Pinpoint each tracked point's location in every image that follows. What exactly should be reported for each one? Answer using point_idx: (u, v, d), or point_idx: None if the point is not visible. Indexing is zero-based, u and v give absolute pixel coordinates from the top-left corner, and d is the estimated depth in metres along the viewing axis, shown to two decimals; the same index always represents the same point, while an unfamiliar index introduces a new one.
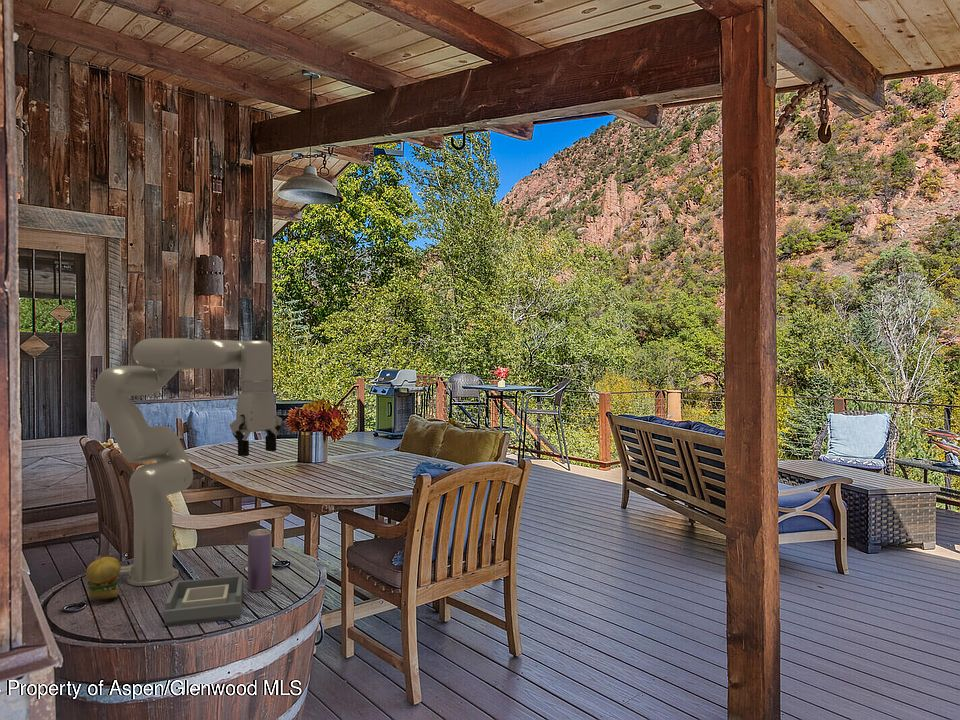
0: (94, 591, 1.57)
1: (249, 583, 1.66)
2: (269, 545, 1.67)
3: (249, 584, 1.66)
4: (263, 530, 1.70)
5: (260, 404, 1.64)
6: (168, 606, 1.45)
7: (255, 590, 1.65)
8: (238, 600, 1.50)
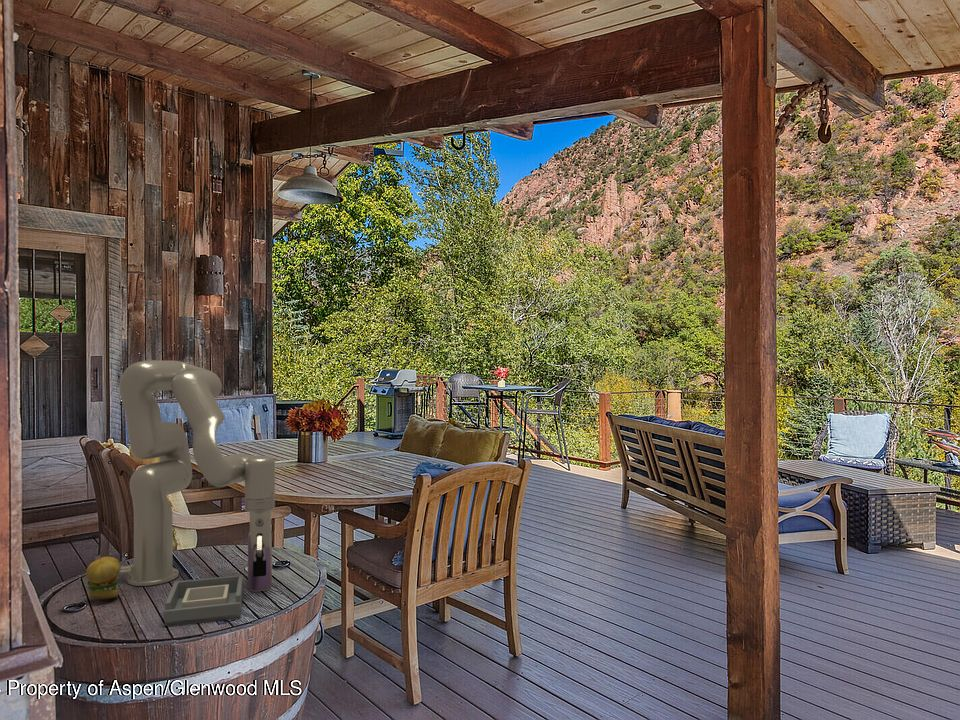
0: (94, 591, 1.57)
1: (249, 583, 1.66)
2: None
3: (249, 584, 1.66)
4: None
5: None
6: (168, 606, 1.45)
7: (255, 590, 1.65)
8: (238, 600, 1.50)
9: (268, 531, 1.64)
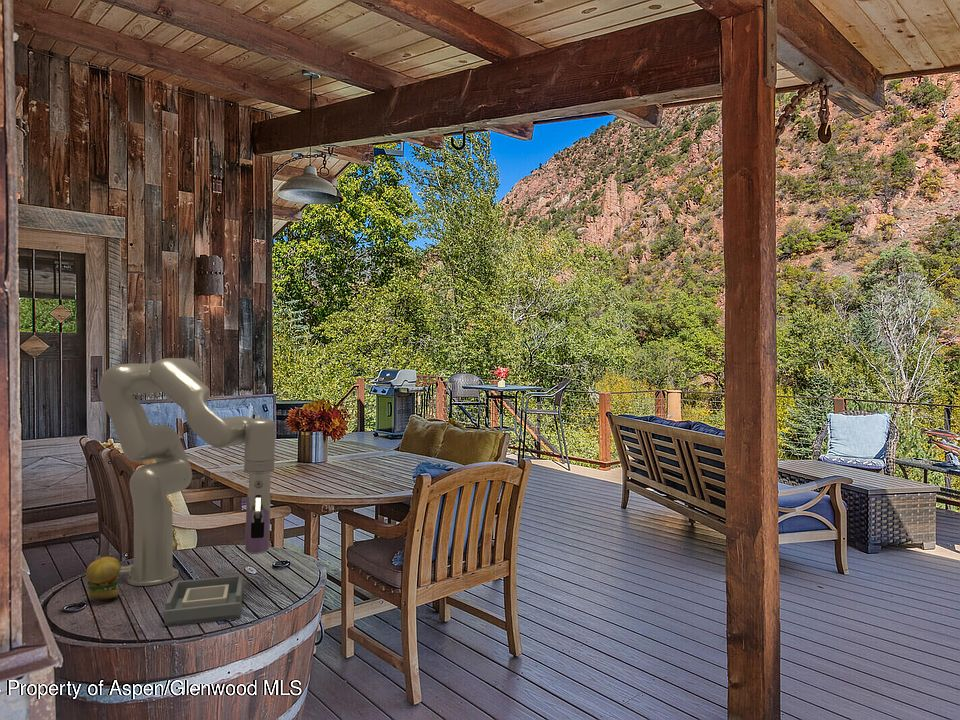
0: (94, 591, 1.57)
1: (247, 545, 1.66)
2: None
3: (247, 546, 1.66)
4: None
5: None
6: (168, 606, 1.45)
7: (252, 552, 1.65)
8: (238, 600, 1.50)
9: (267, 493, 1.64)
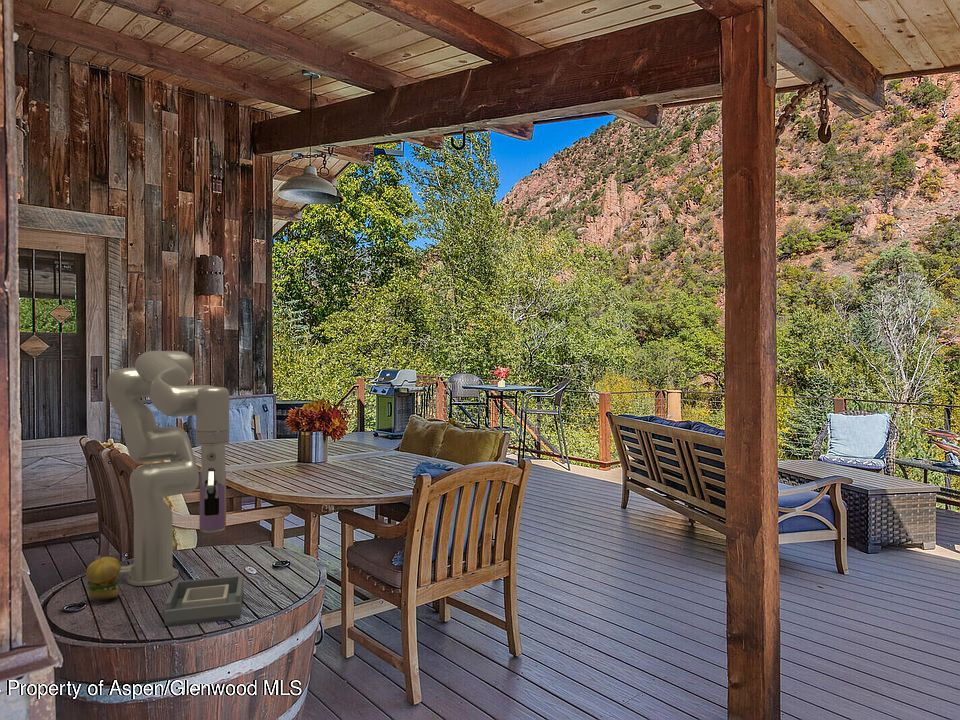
0: (94, 591, 1.57)
1: (201, 523, 1.53)
2: None
3: (201, 524, 1.53)
4: None
5: None
6: (168, 606, 1.45)
7: (207, 530, 1.53)
8: (238, 600, 1.50)
9: (221, 466, 1.52)
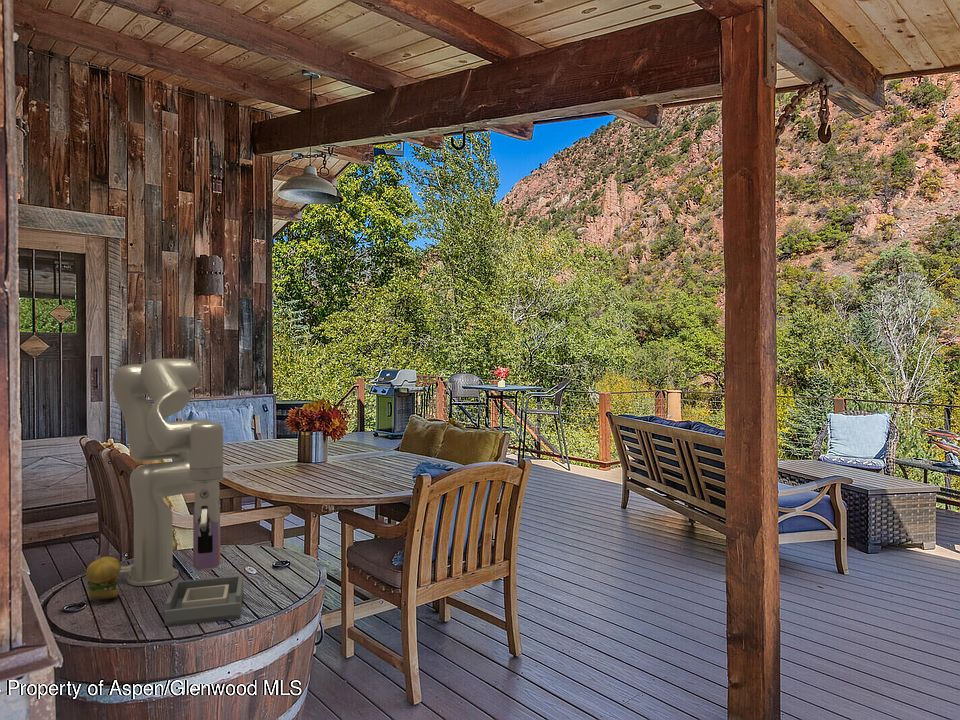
0: (94, 591, 1.57)
1: (194, 561, 1.52)
2: None
3: (194, 562, 1.52)
4: None
5: None
6: (168, 606, 1.45)
7: (201, 568, 1.51)
8: (238, 600, 1.50)
9: (214, 503, 1.50)
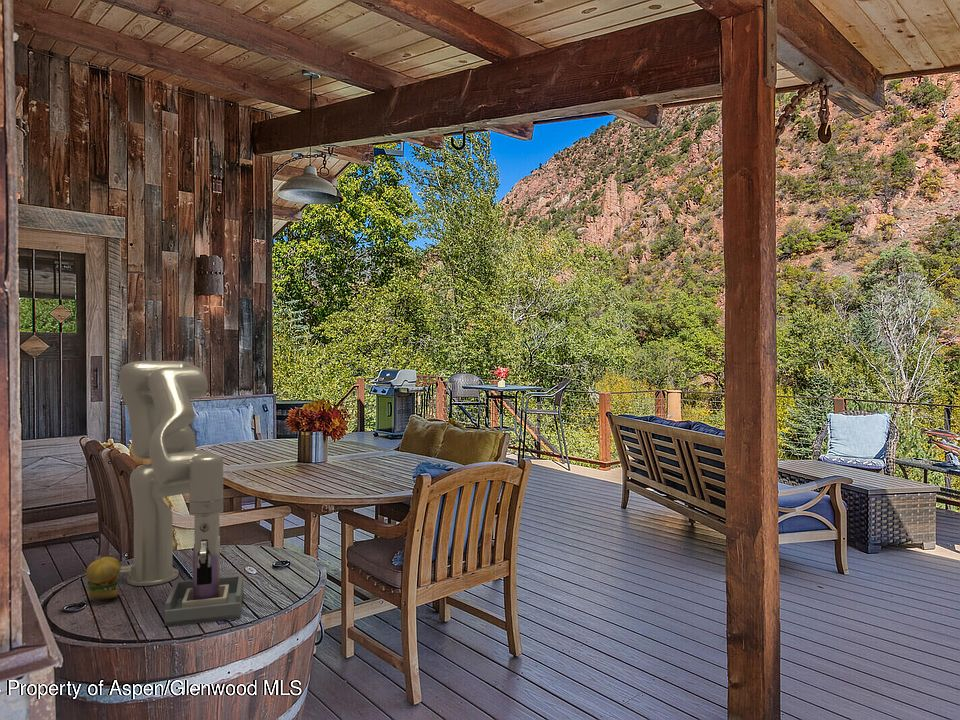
0: (94, 591, 1.57)
1: (194, 599, 1.52)
2: (216, 558, 1.53)
3: None
4: None
5: None
6: (168, 606, 1.45)
7: None
8: (238, 600, 1.50)
9: (214, 537, 1.50)
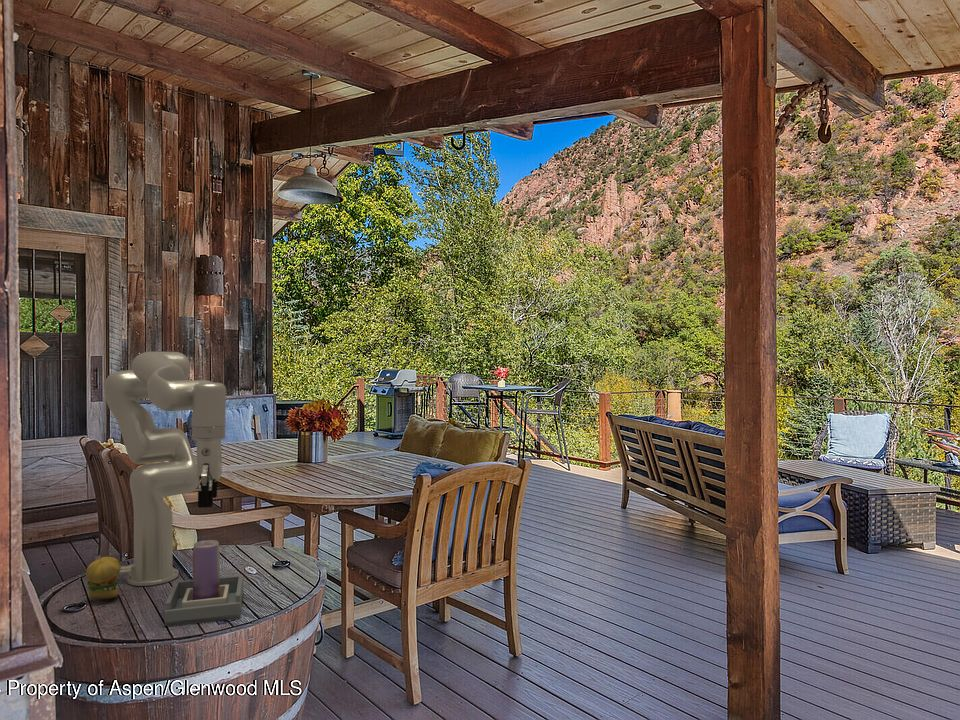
0: (94, 591, 1.57)
1: (194, 599, 1.52)
2: (216, 558, 1.53)
3: None
4: (210, 541, 1.56)
5: None
6: (168, 606, 1.45)
7: None
8: (238, 600, 1.50)
9: (215, 461, 1.53)
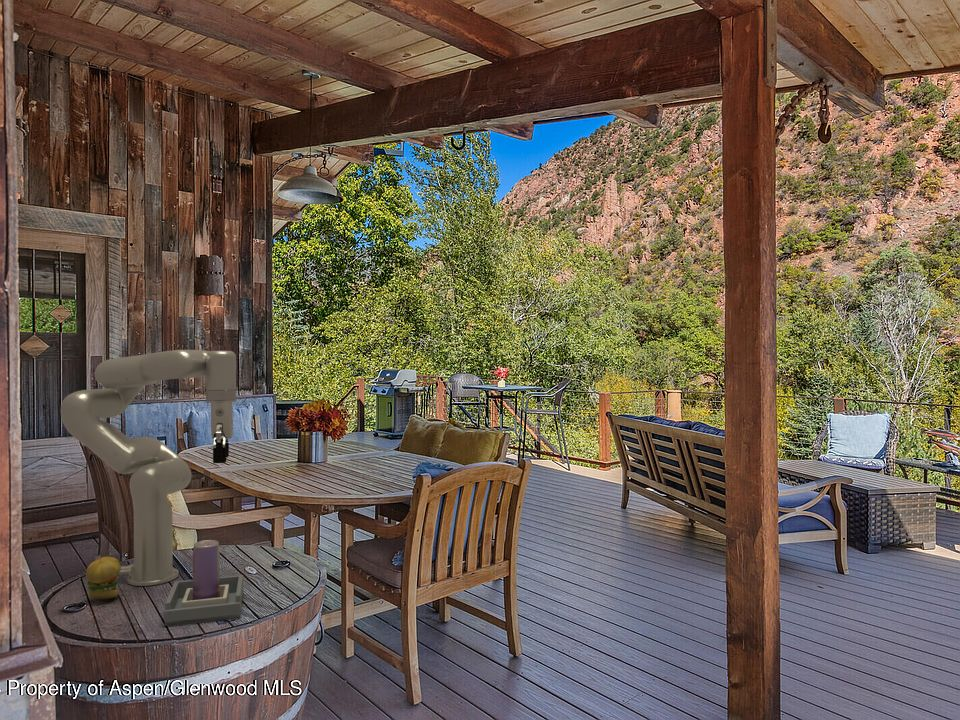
0: (94, 591, 1.57)
1: (194, 599, 1.52)
2: (216, 558, 1.53)
3: None
4: (210, 541, 1.56)
5: None
6: (168, 606, 1.45)
7: None
8: (238, 600, 1.50)
9: (228, 421, 1.68)
